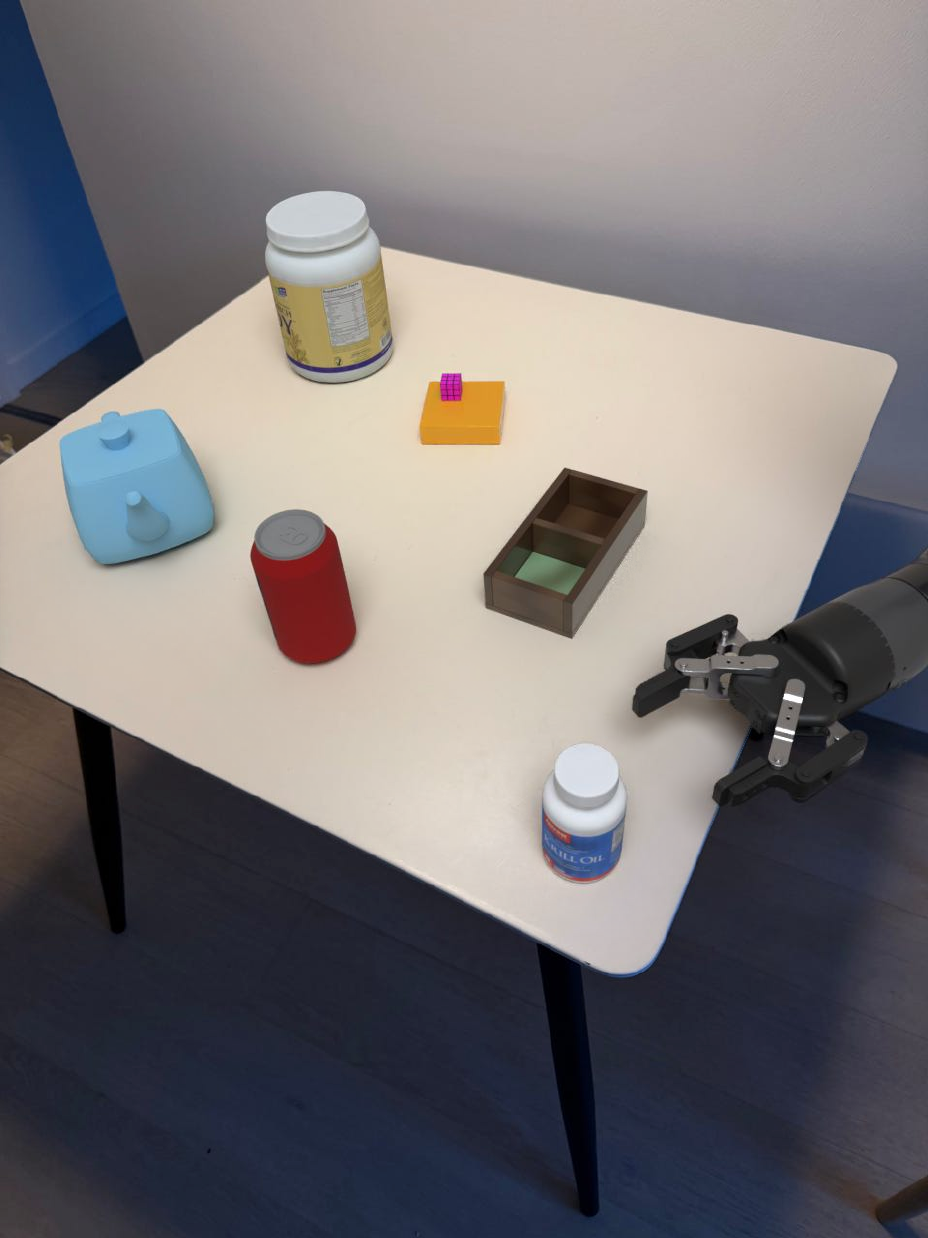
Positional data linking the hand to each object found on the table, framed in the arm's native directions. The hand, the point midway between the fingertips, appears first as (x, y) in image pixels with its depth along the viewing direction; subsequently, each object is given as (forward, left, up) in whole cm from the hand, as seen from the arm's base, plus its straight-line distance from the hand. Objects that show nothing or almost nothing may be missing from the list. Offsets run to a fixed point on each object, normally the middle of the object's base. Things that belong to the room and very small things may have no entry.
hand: (674, 749), depth 66 cm
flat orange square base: (+36, -34, -6) cm, 49 cm away
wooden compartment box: (+17, -19, -6) cm, 26 cm away
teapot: (+54, -6, -6) cm, 54 cm away
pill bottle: (+4, +6, -6) cm, 10 cm away
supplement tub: (+55, -39, -6) cm, 67 cm away
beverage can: (+32, -2, -6) cm, 32 cm away
